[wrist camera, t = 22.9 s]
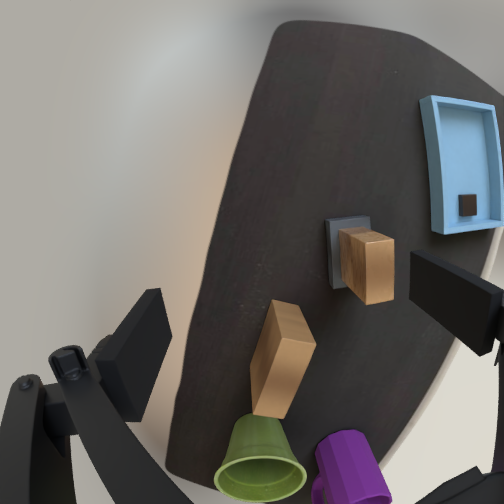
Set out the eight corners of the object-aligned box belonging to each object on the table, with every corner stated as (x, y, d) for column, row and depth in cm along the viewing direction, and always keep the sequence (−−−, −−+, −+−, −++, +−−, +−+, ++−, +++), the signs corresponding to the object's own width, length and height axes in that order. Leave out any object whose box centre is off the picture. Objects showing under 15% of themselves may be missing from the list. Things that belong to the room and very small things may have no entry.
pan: (418, 100, 33) (430, 95, 30) (481, 108, 33) (494, 105, 30) (431, 230, 37) (444, 234, 34) (491, 223, 37) (503, 226, 34)
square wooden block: (271, 299, 38) (282, 337, 28) (298, 305, 38) (316, 344, 28) (249, 365, 40) (252, 414, 30) (274, 370, 40) (283, 419, 30)
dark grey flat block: (458, 194, 35) (462, 194, 34) (472, 193, 35) (476, 194, 34) (458, 216, 36) (462, 216, 35) (473, 214, 36) (477, 215, 35)
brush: (324, 219, 36) (354, 232, 26) (363, 215, 36) (403, 227, 26) (329, 283, 38) (356, 316, 28) (366, 278, 38) (402, 307, 28)
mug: (374, 430, 44) (405, 492, 29) (330, 481, 47) (346, 539, 32) (330, 424, 43) (355, 494, 28) (288, 477, 46) (299, 541, 31)
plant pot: (240, 388, 41) (241, 446, 30) (309, 414, 42) (325, 467, 31) (205, 436, 43) (199, 490, 32) (269, 457, 44) (275, 508, 33)
